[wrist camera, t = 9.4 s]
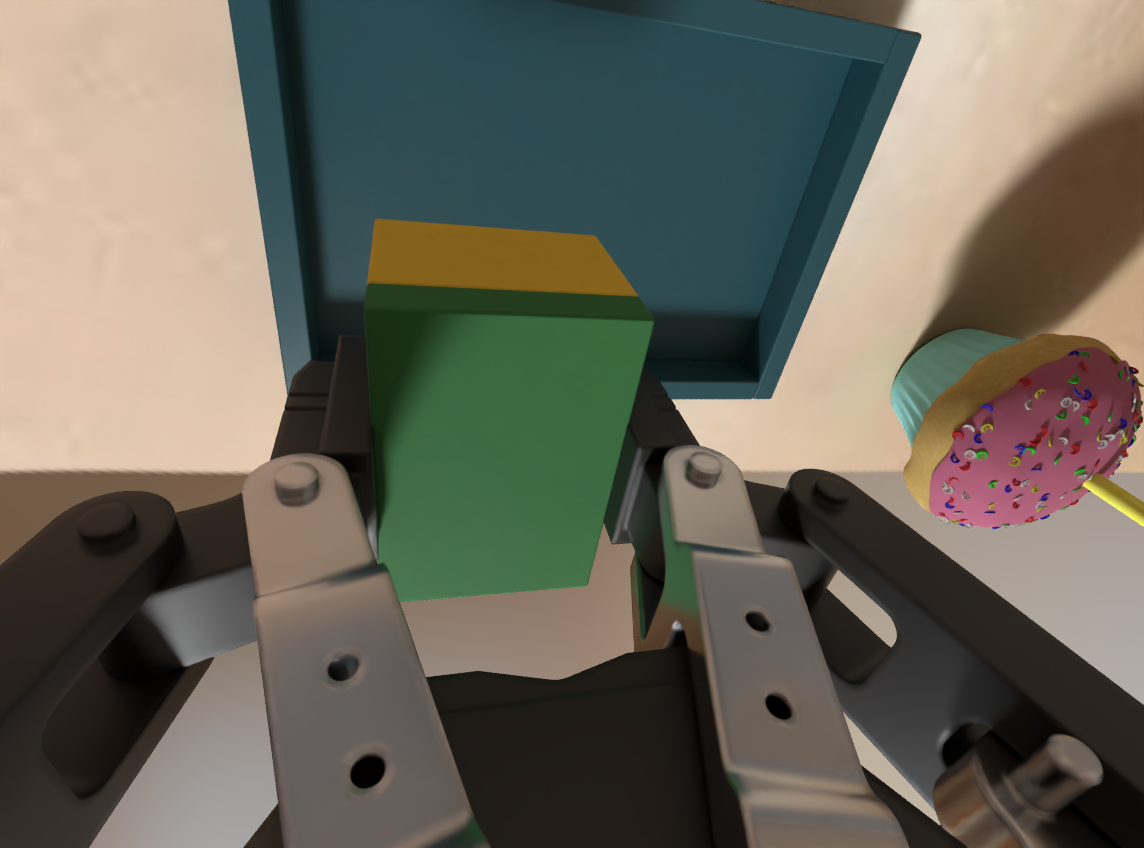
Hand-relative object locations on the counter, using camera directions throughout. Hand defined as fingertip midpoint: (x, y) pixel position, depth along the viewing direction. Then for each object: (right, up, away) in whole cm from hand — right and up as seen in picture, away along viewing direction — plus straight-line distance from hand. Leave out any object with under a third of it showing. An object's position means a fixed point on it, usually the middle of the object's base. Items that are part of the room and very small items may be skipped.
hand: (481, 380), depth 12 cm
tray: (+2, +6, +6) cm, 9 cm away
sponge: (0, 0, 0) cm, 0 cm away
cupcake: (+18, +1, +15) cm, 23 cm away
